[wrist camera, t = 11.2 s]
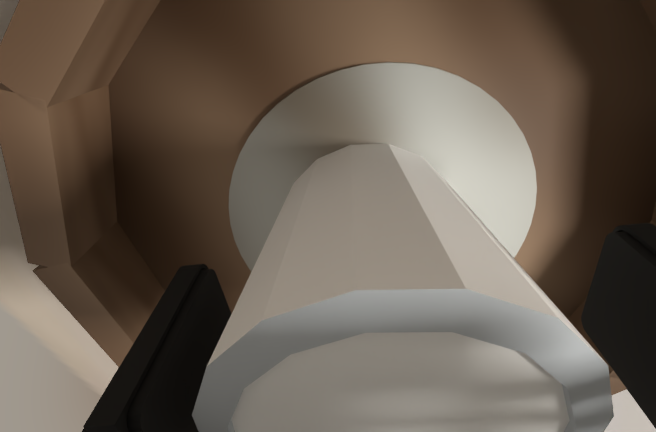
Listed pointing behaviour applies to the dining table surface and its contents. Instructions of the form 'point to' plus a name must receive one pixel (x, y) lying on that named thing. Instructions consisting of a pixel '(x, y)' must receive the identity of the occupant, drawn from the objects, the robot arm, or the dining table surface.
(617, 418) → the dining table surface
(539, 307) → the white cup
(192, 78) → the round wooden tray
